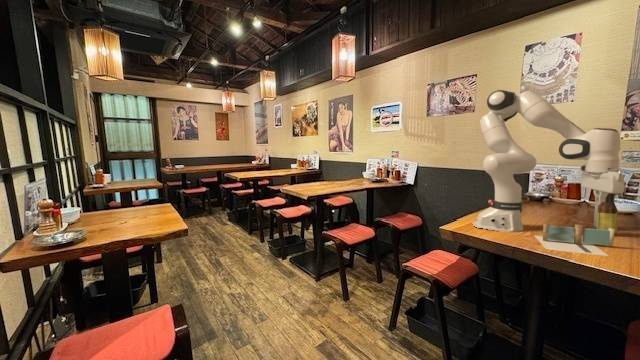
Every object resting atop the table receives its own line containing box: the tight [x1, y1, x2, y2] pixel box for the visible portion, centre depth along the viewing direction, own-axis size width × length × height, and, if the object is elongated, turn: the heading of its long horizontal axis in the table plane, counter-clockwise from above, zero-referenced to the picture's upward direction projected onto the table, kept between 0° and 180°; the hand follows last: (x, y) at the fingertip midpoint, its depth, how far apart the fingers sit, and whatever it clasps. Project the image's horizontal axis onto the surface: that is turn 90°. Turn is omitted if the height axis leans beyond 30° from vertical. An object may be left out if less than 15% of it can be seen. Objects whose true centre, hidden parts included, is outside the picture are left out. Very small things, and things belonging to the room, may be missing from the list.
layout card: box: [533, 235, 609, 257], centre depth 108 cm, size 18×19×1 cm
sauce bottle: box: [597, 193, 619, 237], centre depth 118 cm, size 7×6×20 cm
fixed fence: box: [542, 222, 584, 245], centre depth 110 cm, size 13×2×8 cm, turn 62°
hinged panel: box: [582, 227, 615, 247], centre depth 105 cm, size 9×2×7 cm, turn 62°
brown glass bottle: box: [592, 195, 616, 229], centre depth 127 cm, size 6×7×20 cm
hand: (600, 201), depth 106 cm, fingers closed
